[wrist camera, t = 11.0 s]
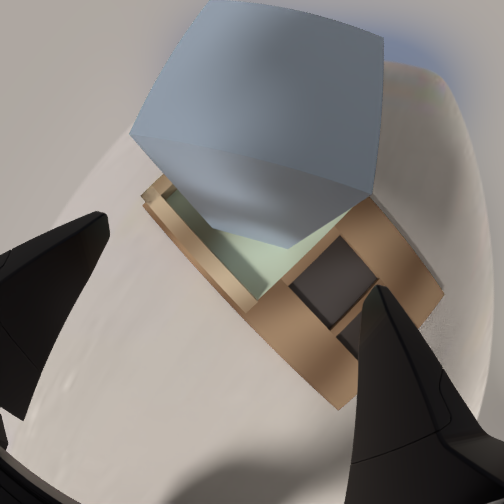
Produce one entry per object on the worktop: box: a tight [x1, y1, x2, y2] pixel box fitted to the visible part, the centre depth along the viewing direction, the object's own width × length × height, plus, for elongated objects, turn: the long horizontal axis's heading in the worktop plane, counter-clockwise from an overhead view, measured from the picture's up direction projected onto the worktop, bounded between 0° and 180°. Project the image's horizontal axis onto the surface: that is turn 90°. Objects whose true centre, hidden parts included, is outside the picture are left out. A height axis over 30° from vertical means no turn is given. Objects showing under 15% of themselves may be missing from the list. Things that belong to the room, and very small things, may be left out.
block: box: [129, 0, 384, 249], centre depth 12 cm, size 5×5×13 cm
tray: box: [141, 174, 444, 410], centre depth 18 cm, size 20×12×2 cm, turn 43°
